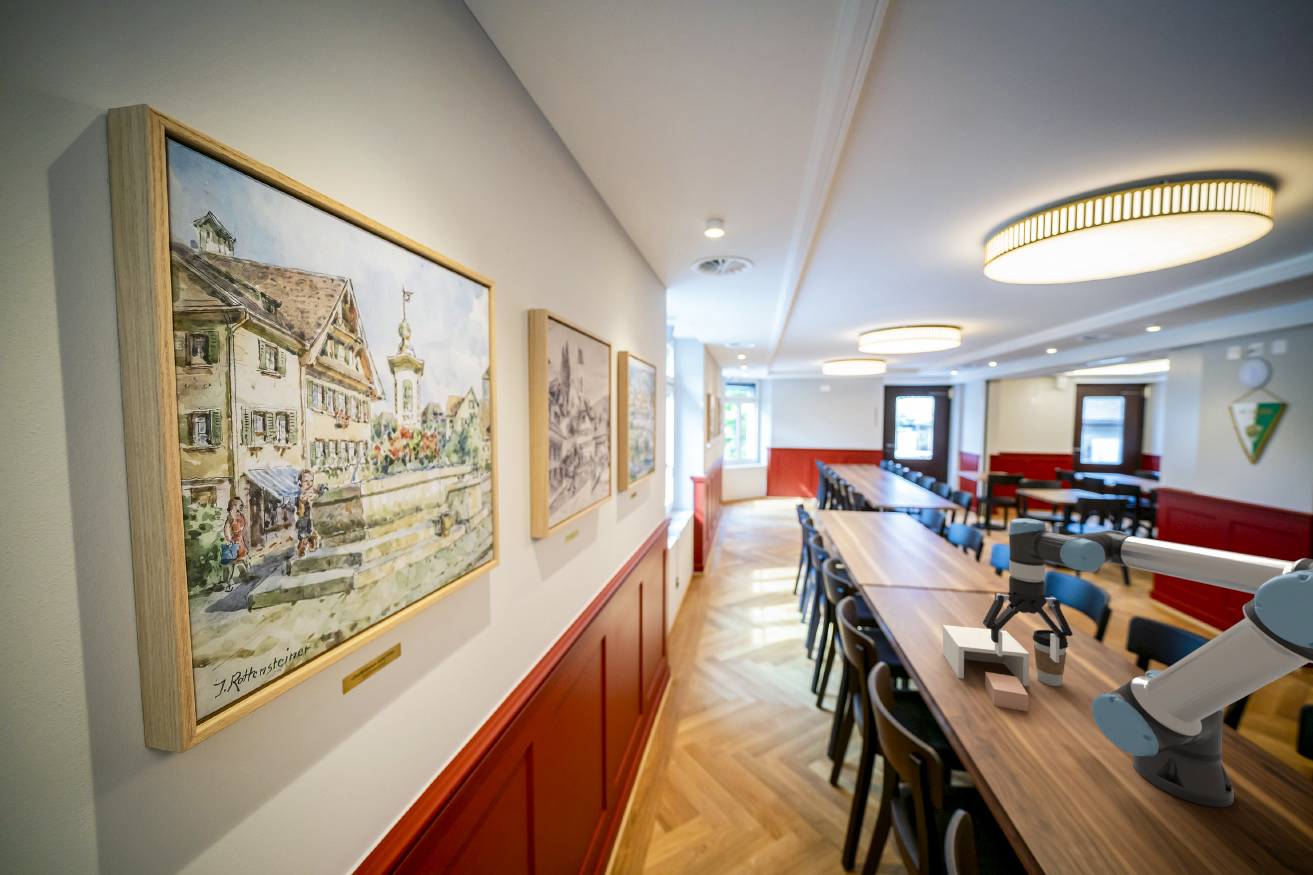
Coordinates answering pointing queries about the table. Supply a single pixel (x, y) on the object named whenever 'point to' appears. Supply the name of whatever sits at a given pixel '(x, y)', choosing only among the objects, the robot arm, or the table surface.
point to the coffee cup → (1048, 659)
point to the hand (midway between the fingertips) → (1026, 656)
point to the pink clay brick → (1006, 691)
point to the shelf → (983, 650)
